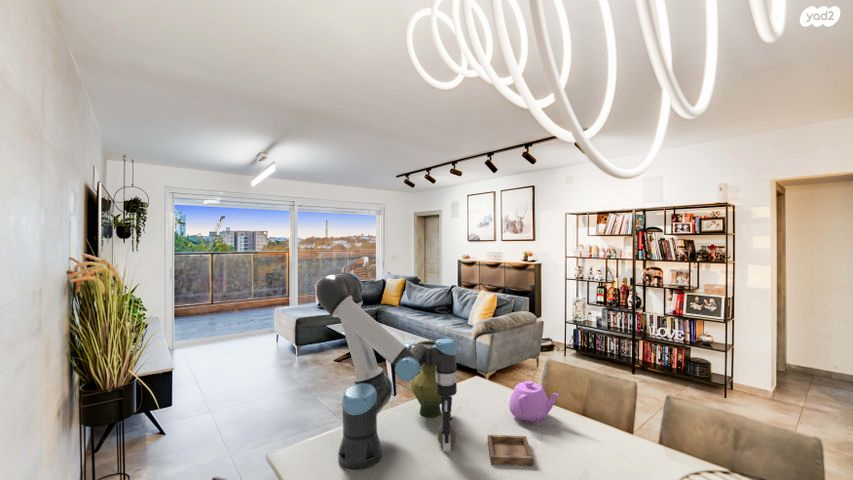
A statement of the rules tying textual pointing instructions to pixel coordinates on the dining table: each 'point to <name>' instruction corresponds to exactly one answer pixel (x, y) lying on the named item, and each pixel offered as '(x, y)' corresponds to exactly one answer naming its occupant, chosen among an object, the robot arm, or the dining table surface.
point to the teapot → (530, 402)
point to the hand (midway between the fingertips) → (447, 444)
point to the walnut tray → (509, 450)
